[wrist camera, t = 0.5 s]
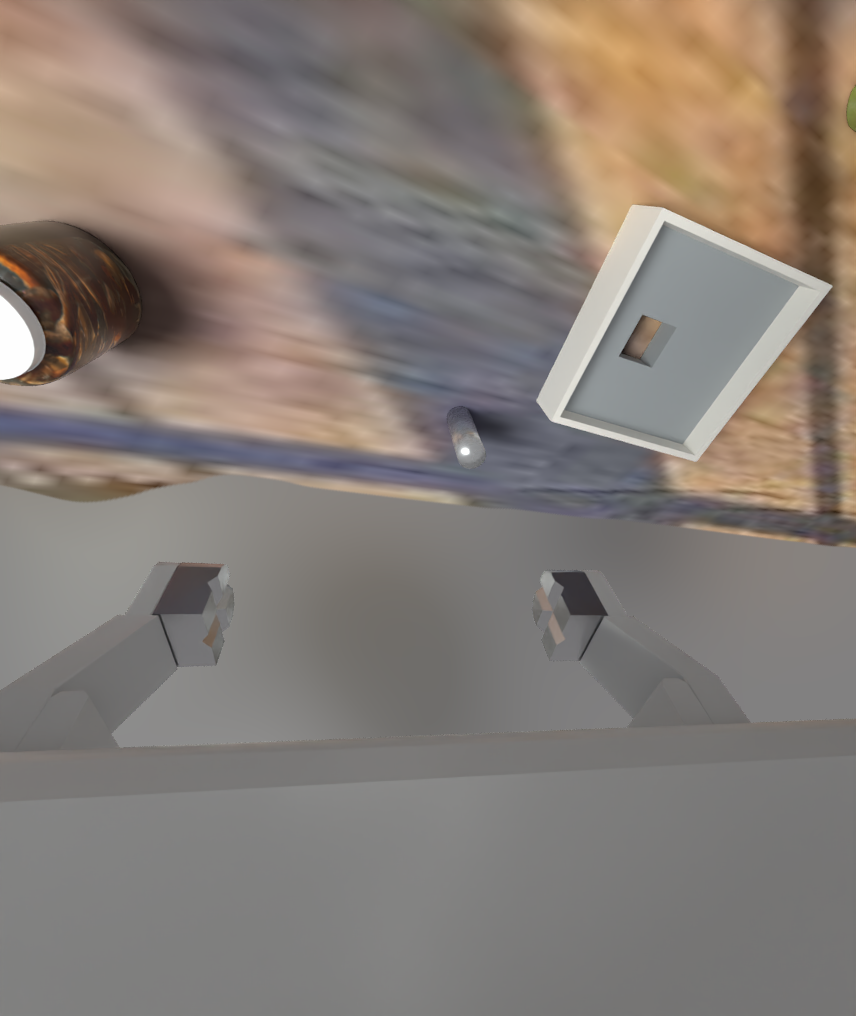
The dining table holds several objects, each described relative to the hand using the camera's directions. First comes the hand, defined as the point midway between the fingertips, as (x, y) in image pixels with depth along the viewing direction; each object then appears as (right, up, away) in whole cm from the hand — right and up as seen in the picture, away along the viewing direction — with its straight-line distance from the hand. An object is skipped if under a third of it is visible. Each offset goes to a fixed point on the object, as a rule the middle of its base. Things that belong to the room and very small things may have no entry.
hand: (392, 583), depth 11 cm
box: (+29, +22, +42) cm, 56 cm away
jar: (-35, +25, +33) cm, 54 cm away
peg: (+5, +14, +45) cm, 48 cm away
